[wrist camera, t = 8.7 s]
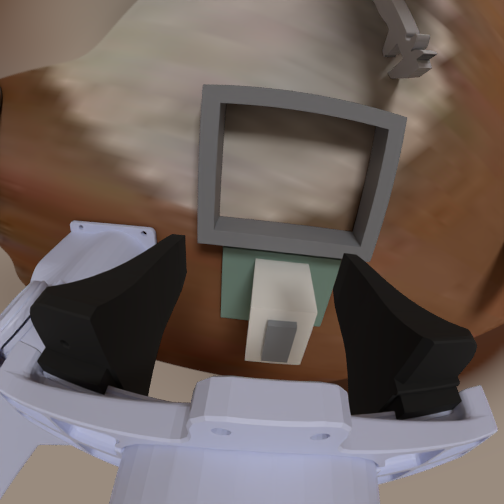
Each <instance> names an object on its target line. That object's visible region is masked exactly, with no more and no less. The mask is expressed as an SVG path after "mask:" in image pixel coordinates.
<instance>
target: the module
mask: <svg viewBox="0 0 504 504" xmlns="http://www.w3.org/2000/svg"><path fill="white" fill-rule="evenodd" d="M316 316H317V307H316V301H315V295H314V289H313V284H312V278H311V273H310V268H309V264H304V263H294V262H285V261H276V260H266V259H257V258H256V260H255V269H254V278H253V287H252V295H251V304H250V313H249V323H248V333H247V342H246V352H245V361H254V362H265V363H278V364H294V365H300V362H301V360H302V357H303V354H304V351H305V349H306V346H307V343H308V340H309V337H310V334H311V331H312V328H313V325H314V322H315V319H316Z"/></svg>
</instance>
